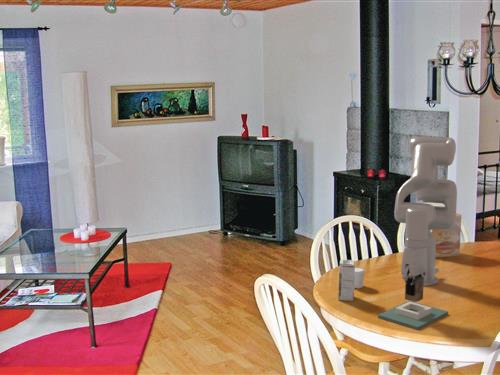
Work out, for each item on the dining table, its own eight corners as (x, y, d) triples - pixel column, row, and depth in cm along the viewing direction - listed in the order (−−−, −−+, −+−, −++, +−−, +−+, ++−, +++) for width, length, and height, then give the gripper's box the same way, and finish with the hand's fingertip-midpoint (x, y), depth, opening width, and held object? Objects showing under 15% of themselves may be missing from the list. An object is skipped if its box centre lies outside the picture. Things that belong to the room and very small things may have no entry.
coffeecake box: (430, 258, 307) (432, 216, 303) (423, 254, 314) (424, 213, 310) (460, 255, 311) (462, 214, 307) (451, 251, 317) (453, 211, 314)
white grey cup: (363, 289, 265) (364, 272, 264) (346, 288, 267) (346, 271, 266) (364, 284, 272) (364, 267, 271) (347, 283, 273) (347, 266, 272)
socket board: (409, 303, 250) (409, 295, 249) (448, 314, 239) (448, 306, 238) (378, 317, 236) (378, 309, 235) (417, 329, 225) (418, 321, 224)
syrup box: (338, 295, 259) (339, 259, 256) (354, 296, 258) (355, 259, 255) (338, 300, 253) (338, 263, 251) (354, 301, 252) (354, 264, 250)
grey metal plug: (411, 296, 239) (412, 274, 238) (422, 299, 236) (423, 277, 235) (404, 299, 236) (405, 277, 235) (416, 302, 233) (416, 280, 232)
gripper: (419, 236, 241) (417, 285, 244) (393, 245, 229) (391, 296, 232) (438, 240, 236) (436, 290, 239) (412, 249, 224) (410, 301, 227)
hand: (414, 292), depth 236 cm, fingers closed on grey metal plug, 4 cm apart
